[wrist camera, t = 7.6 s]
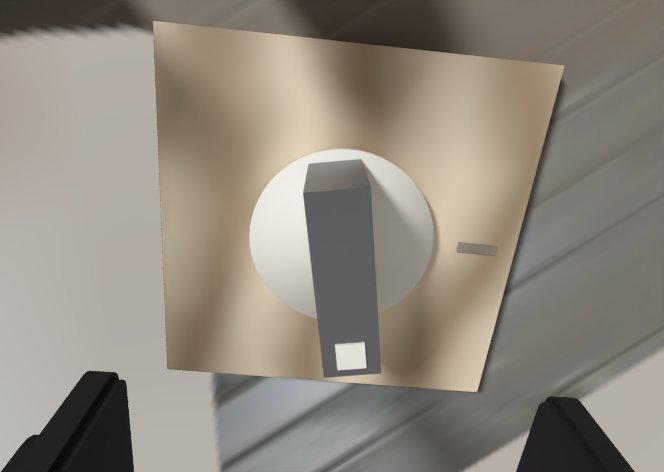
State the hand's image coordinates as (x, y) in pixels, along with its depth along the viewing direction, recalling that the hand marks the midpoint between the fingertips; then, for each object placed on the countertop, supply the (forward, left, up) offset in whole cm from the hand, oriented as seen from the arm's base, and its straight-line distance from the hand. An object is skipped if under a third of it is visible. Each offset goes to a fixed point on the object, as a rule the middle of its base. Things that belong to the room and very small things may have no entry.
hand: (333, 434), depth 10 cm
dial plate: (+1, 0, -14) cm, 14 cm away
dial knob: (+1, 0, -13) cm, 13 cm away
